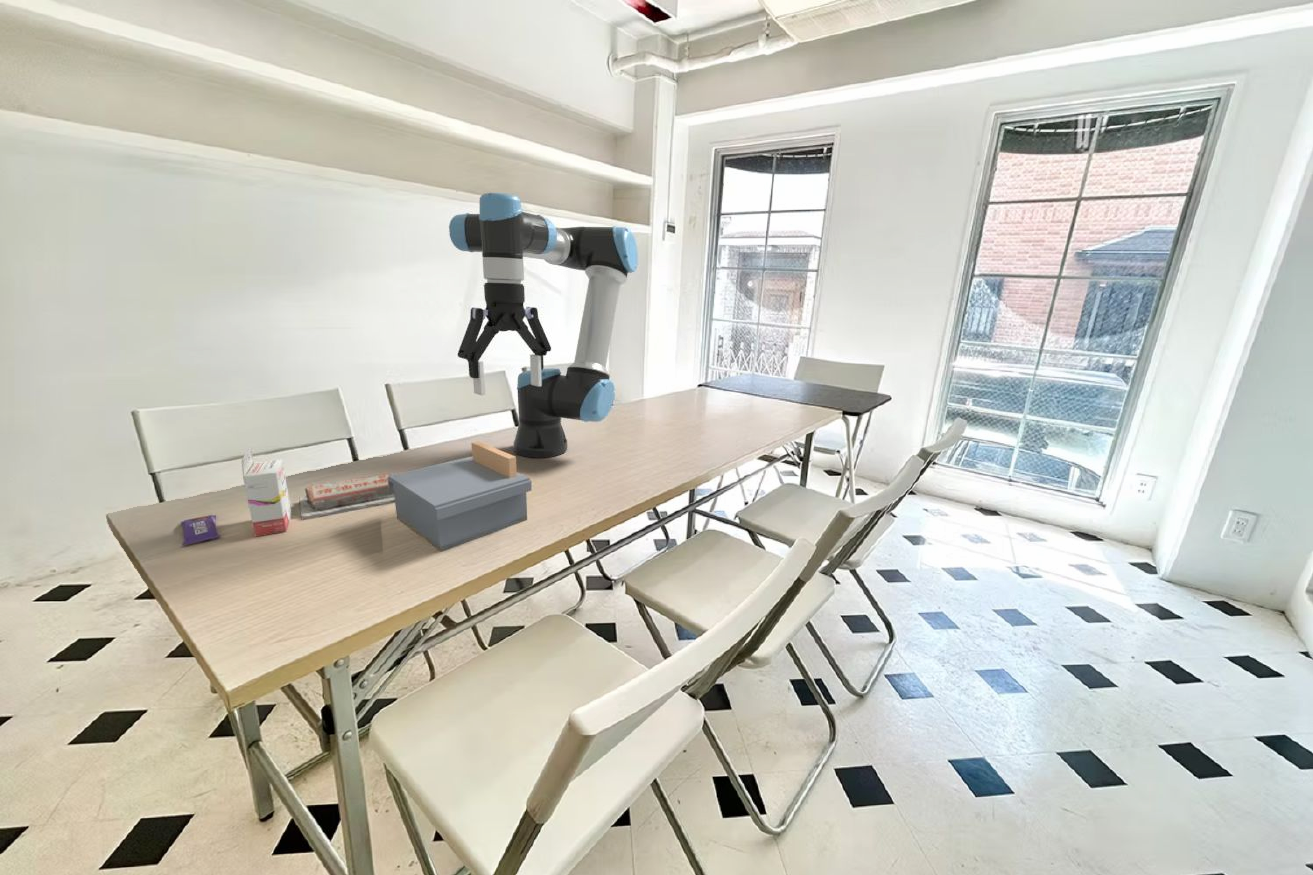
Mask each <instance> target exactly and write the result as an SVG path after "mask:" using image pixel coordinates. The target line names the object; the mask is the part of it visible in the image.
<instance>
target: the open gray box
mask: <svg viewBox="0 0 1313 875" xmlns="http://www.w3.org/2000/svg"><path fill="white" fill-rule="evenodd" d="M393 489H394V498H395V504H394V505H395V514H396V519H397V521H399V522H400V523H402V524H403V525H404V526H406V527H407V528H409V529H410V531H412V532H413V533H415V534H416V535H418V536H419V537H420V538H422V539H423V540H425V541H426V542H427V543H428V544H429V545H430V546H433V547H434V548H435V549H436V550H437V551H439V552H440V553H441V552H443V551H448V550H449V549H452V548H455V547H457V546H460V545H463V544H467V543H469V542H471V541H474V540H477V539H479V538H483V537H485V536H488V535H490V534H492V533H496V532H499V531H500V530H501V531H502V530H504V529H507V528H510V527H512V526H514V525H517V524H518V525H519V524H521V523H523V522H525V521H528V507H527V506H528V503H527V502H528V501H527V499H528V498H527V492H525V493H522V494H519V495H516V496H513V497H510V498H506V499H503V500H500V501H497V502H494V503H491V504H488V505H484V506H481V507H478V508H475V509H472V510H469V511H466V512H462V513H459V514H456V515H453V516H450V517H447V518H443V519H440V520H436V514H435V511H434V510H433V509H431V508H430V507H428V506H427V505H425V504H423V503H422V502H420V501H419V500H417V499H416V498H414V497H413V496H411V495H410V494H408V493H407V492H405V491H404V490H402V489H401V488H399V487H398V486H396V485H394V484H393Z"/></svg>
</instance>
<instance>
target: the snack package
mask: <svg viewBox="0 0 1313 875" xmlns="http://www.w3.org/2000/svg"><path fill="white" fill-rule="evenodd" d="M216 517H217V515H216V514H214V515H212V514H211V515H209V514H208V515H204V516H200V517H195V518H189V519H184V520H183V521H181V522H180V524H181V525H182V526H183V541H182V543H181V546H187V545H191V544H196V543H200V542H204V541H208V540H209V541H210V540H213V539H218V538H220V537H221V536H220V534H218V531H217V526H216Z"/></svg>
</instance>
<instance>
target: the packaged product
mask: <svg viewBox="0 0 1313 875" xmlns="http://www.w3.org/2000/svg"><path fill="white" fill-rule="evenodd" d="M390 475H394V474H393V473H384V474H378V475H371V476H366V477H359V478H352V479H351V478H350V479H347V480H346V479H345V480H340V481H332V482H327V483H319V484H315V485H310V486H306V488H305V489H304V490H305V495H306V496H301V497H299V507H300V508H299V509H300V516H301V520H302V521H306V520H311V519H316V518H320V517H324V516H331V515H337V514H343V513H348V512H352V511H358V510H363V509H369V508H373V507H378V506H383V505H388V504H394V503H395V498H394V489H393V487H391V488H389V487H388V481H387V477H388V476H390Z"/></svg>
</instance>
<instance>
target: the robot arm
mask: <svg viewBox="0 0 1313 875" xmlns="http://www.w3.org/2000/svg"><path fill="white" fill-rule="evenodd" d="M448 231H449V232H448V233H449V234H448V235H449V238H450V241H451V243H452V244H453V246H454V247H455V248H456V249H457V250H459V251H462V252H469V253H481V255H482V258H481V259H482V270H483V271H482V272H483V278H484V280H486V282H484V284H483V290H484V292H483V294H484V301H485V304H486V305H485V306H486V307H485V309H484V308H481V307H471V308H470V313H469V314H470V318H469V319H470V320H469V321H468V322H469V323H468V324H467V328H466V330H465V333H464V336H463V338H462V340H461V344H460V347H459V349H458V351H457V357H458V358H460V359H463V360H466V361H467V362H468V364H467V365H468V375H469V377H470V379H471V378H472V380H473V381H472V382H473V394H476V395H479V396H486V387H485V386H486V385H485V371H484V361H482V360H480V359H481V358H482V356H483V354H484V353H485V351H486V349H487V348H488V347H489V345H490V343H491V342H492V341H493V339H494V338H495V336H496V335H497V334H499V332H508V331H509V332H510V331H511V332H517V334H518V335H519V337H521V339H522V340H523V341H524V342H525V344H526V345H527V347H528V348H529V349H530V350H531V352H532V353H533V354H529V360H530V361H529V362H530V363H529V364H530V370H525V371H522V372H520V373H519V374H518V376H517V386H516V390H517V406H518V408H517V409H518V410H517V411H518V426H517V429H516V433H515V437H514V441H513V444H512V445H513V452H514V453H515V454H516V455H518V456H521V457H525V458H532V459H533V458H535V459H536V458H540V459H541V457H543V458H550V457H551V458H552V457H556V455H557V456H559V455H562V453H563V452H565V451H566V450H567V451H568V449H567V448H568V439H567V436H566V434H565V431H564V428H563V426H562V419H568V420H569V419H570V420H575V421H581V422H584V423H588V422H590V423H591V422H593V423H597V422H598V423H599V422H602V421H604V419H605V418H606V417H608V415H609V413H610V412H611V410H612V407H613V404H614V400H615V394H616V393H615V390H616V388H615V384H614V382H613V381H611V379H610V377H611V376H610V373H609V372H608V371H607V368H606V367H607V360H608V355H609V350H610V344H611V338H612V333H613V327H614V321H615V316H616V310H617V304H618V299H619V292H620V287H621V285H624V284H625V283H626V282H627V278H628V274H632V273H634V272H636V270H637V267H638V259H639V255H638V247H637V241H636V238H635V236H634V234H633V232H632V231H631V230H630V229H629V228H628V227H623V226H622V227H621V226H616V225H613V226H575V227H574V226H573V227H556V226H555V225H554V223H553V222H552V221H551V220H550V219H548V218H547V217H544V216H542V215H540V214H533V213H529V212H525V211H523V208H522V202H521V200H520V198H519V197H518V196H517V195H513V194H509V193H505V192H484V193H483V194H481V195H480V197H479V213H469V212H466V213H463V214H456V215H453V217H452V218H451V220H450V222H449V225H448ZM524 258H528V259H537V260H543V261H545V262H546V263H548V264H550V265H554V266H558V267H559V266H560V267H564V268H568V269H571V270H572V269H573V270H577V271H584V274H585V275H586V276H587V277H588V282H587V284H588V285H587V289H586V295H585V302H584V307H583V311H582V318H581V322H580V328H579V333H578V338H577V343H576V345H577V346H576V350H575V357H574V361H573V363H572V364H570V365H568V366H567V368H566V373H565V375H562V372H561V370H560V368H556V367H555V368H553V367H552V368H551V367H550V368H549V367H548V368H544V357H545V356H546V355H547V354H548V352H552V346H551V344H550V342H549V339H548V337H547V335H546V332H545V330H544V328H543V326H542V323H541V321H540V318H539V311H538V308H537V307H532V306H526V307H524V304H525V302H526V301H525V300H526V299H525V285H524V284H523V283H522V281H524V280H525V270H524ZM524 318H526V320H527V322H528V325H529V327H528V326H527V324H526V323H525V321H524ZM485 319H487V322H486V324H485V325H484V326H482V325H483V322H484V320H485ZM482 327H483V330H482V332H481V333H480V331H481V329H482ZM529 328H530V329H529ZM530 330H531V331H530ZM531 332H532V333H531ZM567 451H566V452H567ZM566 452H565V453H566ZM563 454H564V453H563Z"/></svg>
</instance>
